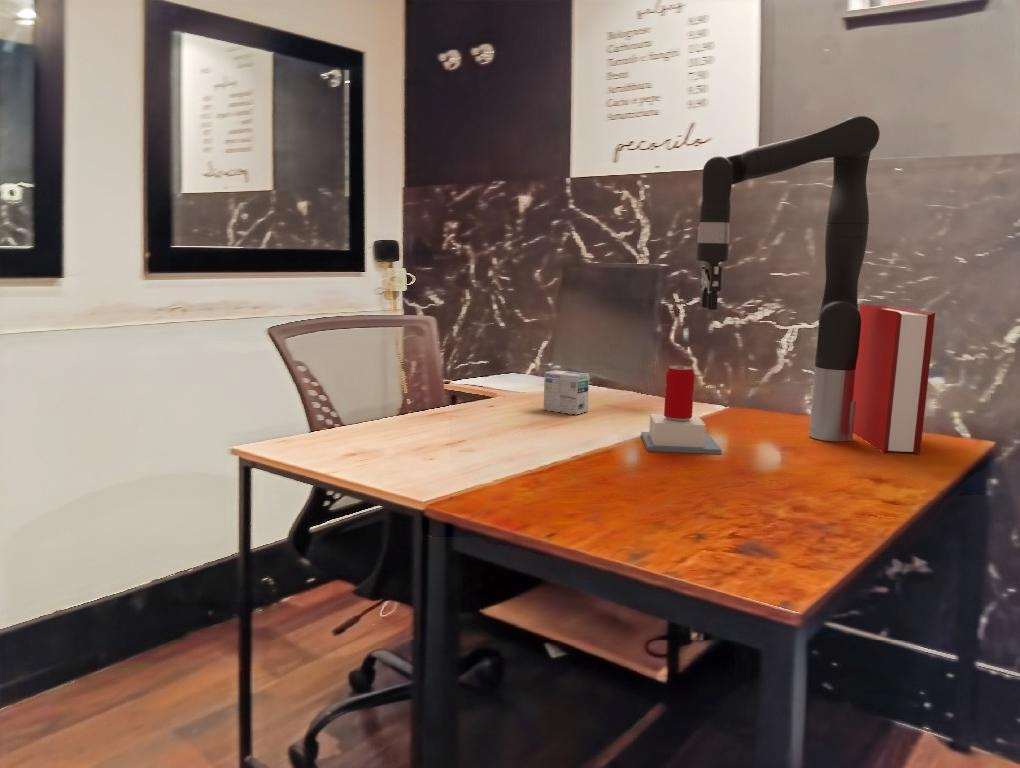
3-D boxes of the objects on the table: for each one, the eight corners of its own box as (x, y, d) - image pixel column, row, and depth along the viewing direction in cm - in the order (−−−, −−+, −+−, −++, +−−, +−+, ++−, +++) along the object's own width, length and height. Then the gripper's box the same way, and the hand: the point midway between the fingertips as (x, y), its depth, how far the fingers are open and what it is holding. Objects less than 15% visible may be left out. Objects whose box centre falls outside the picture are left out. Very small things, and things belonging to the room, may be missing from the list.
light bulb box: (588, 412, 229) (590, 373, 227) (577, 415, 223) (578, 375, 222) (554, 407, 235) (555, 369, 233) (542, 411, 229) (543, 371, 227)
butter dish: (708, 438, 199) (710, 413, 198) (721, 454, 183) (723, 427, 183) (641, 435, 200) (642, 410, 199) (647, 450, 184) (649, 424, 184)
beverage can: (690, 417, 193) (693, 365, 191) (693, 422, 186) (696, 369, 185) (662, 416, 193) (665, 364, 191) (664, 421, 187) (667, 368, 185)
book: (920, 455, 189) (935, 312, 184) (883, 453, 190) (897, 311, 185) (878, 430, 216) (891, 305, 211) (846, 429, 216) (858, 304, 212)
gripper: (734, 241, 197) (729, 311, 199) (723, 242, 211) (719, 307, 213) (702, 240, 197) (697, 309, 200) (693, 242, 211) (689, 306, 214)
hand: (708, 308), depth 207 cm, fingers open, 8 cm apart
